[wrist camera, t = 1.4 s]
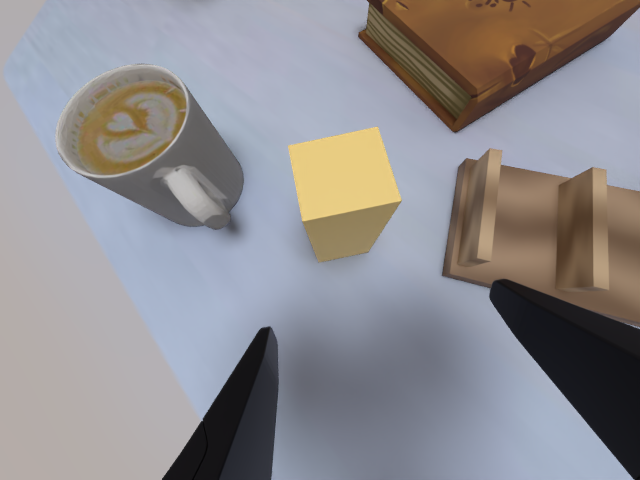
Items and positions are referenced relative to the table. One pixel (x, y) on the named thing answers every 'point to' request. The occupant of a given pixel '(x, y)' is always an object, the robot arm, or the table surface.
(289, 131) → the table surface
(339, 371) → the table surface
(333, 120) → the table surface
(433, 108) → the diary
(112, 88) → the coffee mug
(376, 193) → the pale yellow cuboid
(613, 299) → the shelf slot board
